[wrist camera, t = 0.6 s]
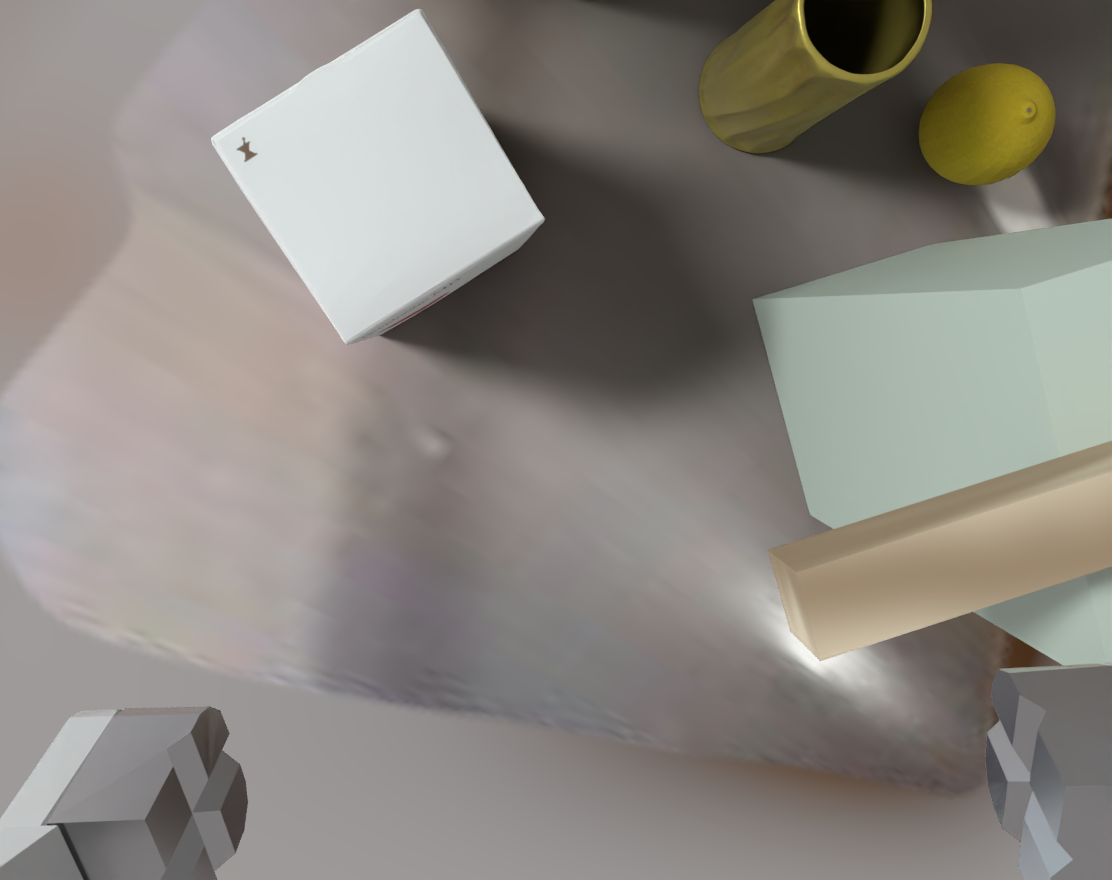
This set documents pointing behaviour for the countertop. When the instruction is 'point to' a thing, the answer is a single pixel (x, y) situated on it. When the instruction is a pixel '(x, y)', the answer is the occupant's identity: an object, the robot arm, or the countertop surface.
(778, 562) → the birch bar
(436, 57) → the supplement box
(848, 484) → the pedestal
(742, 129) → the vase
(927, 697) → the countertop surface
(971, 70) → the lemon
